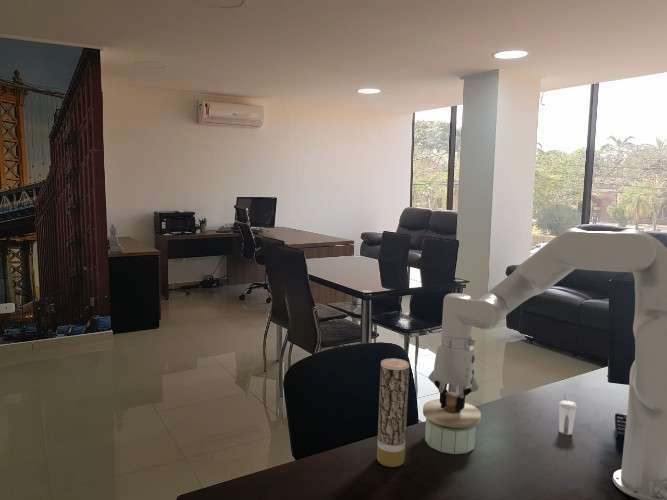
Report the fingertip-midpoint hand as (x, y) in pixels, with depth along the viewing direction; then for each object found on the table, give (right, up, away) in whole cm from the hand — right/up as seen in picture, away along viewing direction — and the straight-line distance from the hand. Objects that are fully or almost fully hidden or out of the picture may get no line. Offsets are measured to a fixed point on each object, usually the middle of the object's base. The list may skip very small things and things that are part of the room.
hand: (451, 407), depth 139 cm
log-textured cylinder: (-17, -10, -10) cm, 22 cm away
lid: (0, -2, 0) cm, 2 cm away
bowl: (0, -9, +1) cm, 9 cm away
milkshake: (+34, -10, +9) cm, 36 cm away
